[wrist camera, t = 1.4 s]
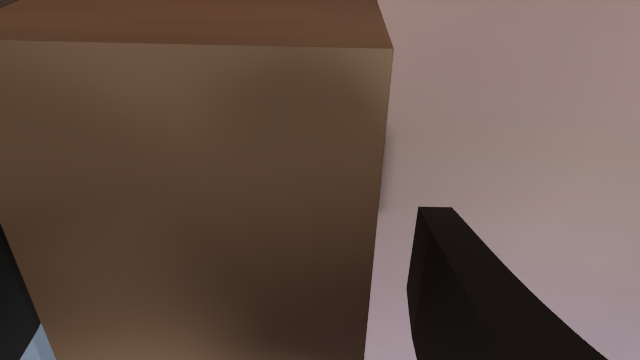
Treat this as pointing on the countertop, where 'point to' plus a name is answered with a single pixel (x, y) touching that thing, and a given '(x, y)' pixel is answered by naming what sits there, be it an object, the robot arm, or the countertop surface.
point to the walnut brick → (194, 174)
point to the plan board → (39, 347)
